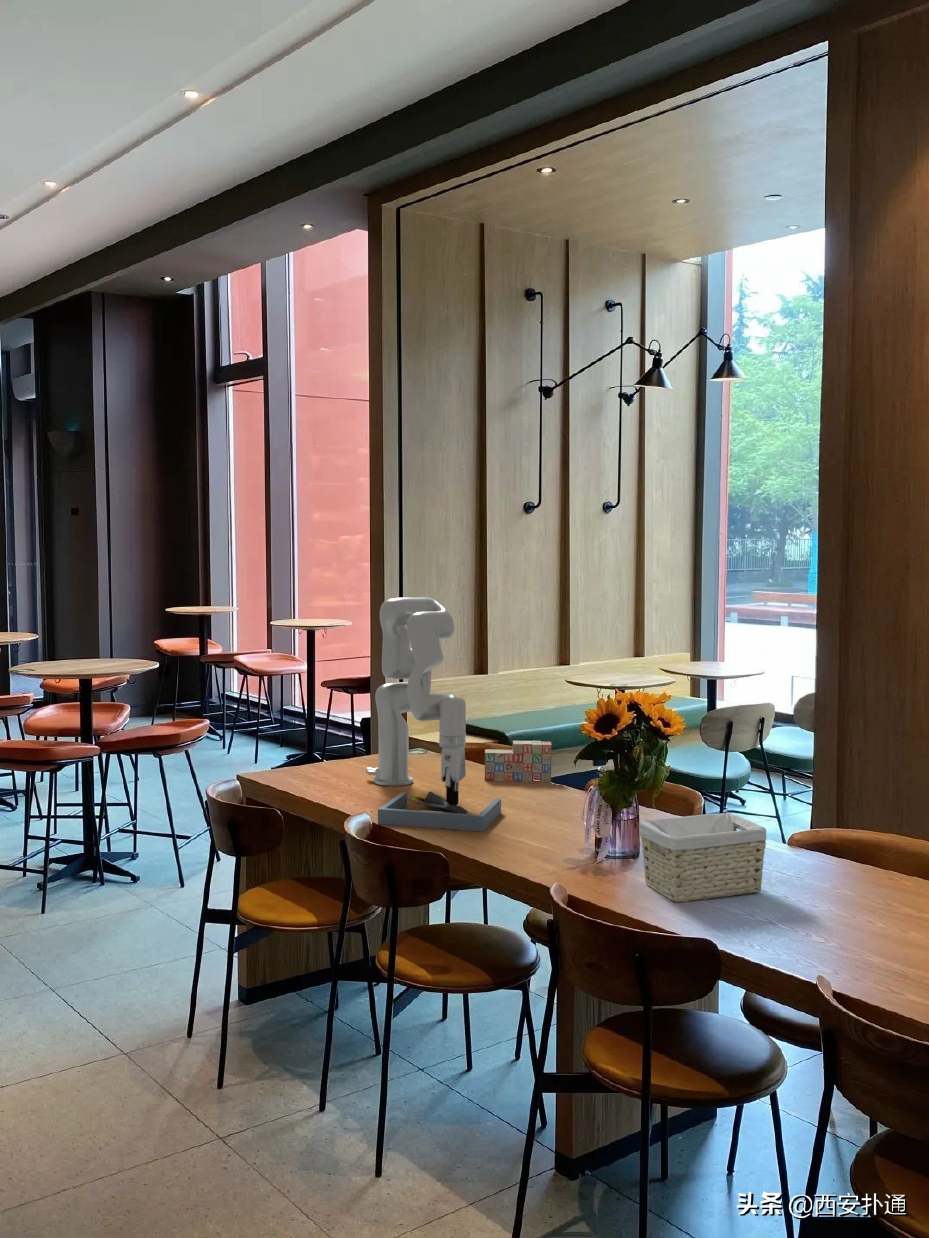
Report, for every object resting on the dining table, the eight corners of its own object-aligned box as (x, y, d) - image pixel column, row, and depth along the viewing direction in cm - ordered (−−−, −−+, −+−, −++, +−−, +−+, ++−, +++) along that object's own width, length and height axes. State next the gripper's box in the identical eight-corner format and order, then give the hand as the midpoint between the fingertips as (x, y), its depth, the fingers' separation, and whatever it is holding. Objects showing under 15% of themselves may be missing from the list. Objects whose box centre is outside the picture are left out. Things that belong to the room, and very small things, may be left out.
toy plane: (389, 800, 316) (393, 783, 316) (433, 806, 327) (437, 789, 327) (443, 821, 297) (448, 802, 297) (488, 827, 308) (493, 808, 308)
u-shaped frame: (377, 823, 296) (377, 809, 296) (402, 805, 317) (402, 791, 317) (482, 831, 289) (482, 816, 288) (501, 812, 309) (501, 798, 309)
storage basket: (670, 905, 230) (671, 836, 229) (635, 883, 246) (636, 818, 245) (769, 895, 238) (770, 828, 237) (728, 873, 253) (730, 810, 252)
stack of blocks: (484, 781, 351) (484, 743, 350) (484, 777, 357) (484, 739, 356) (551, 782, 350) (551, 744, 349) (550, 778, 356) (551, 740, 355)
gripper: (458, 746, 304) (458, 811, 306) (471, 737, 319) (471, 799, 320) (432, 744, 306) (432, 809, 308) (446, 736, 321) (446, 798, 322)
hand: (452, 804), depth 314 cm, fingers closed
